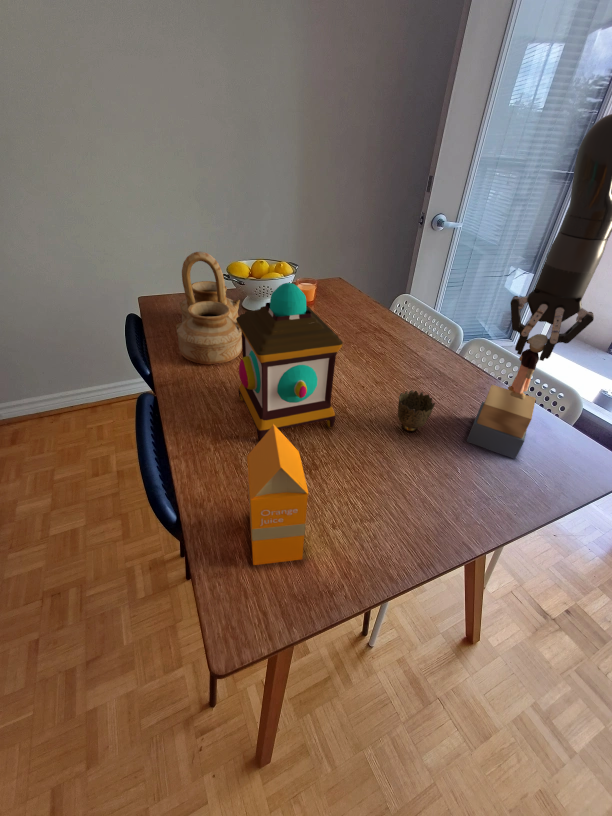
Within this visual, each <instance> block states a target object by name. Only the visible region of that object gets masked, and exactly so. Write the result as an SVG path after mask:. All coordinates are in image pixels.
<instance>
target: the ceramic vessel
mask: <svg viewBox="0 0 612 816" xmlns="http://www.w3.org/2000/svg"><path fill="white" fill-rule="evenodd" d="M198 262H203V263H205V264H207V265H208V266H209V267H210V269H211V270H212V273H213V275H214V279H215V281H211V280H202V281H201V280H200V281H195V282H193V283H192V279H191V271H192V267H193V266H194V265H195V264H196V263H198ZM181 267H182V268H181V280H182V286H183V291H184V295H185V299H183V300H182V301H180V302H179V307H180V312H181V322H180V323H179V322H178V323H177V324H176V325H175V328H176V335H177V339H178V340H177V341H178V350H179V353H180V354H181V355H182V356H183V358H185V359H186V360H189V361H190V362H193V363H196V364H200V365H201V364H203V365H216V364H222V363H227V362H231V361H232V360H234V359H236V358H237V357H238V356H239V355H240V354H241V353H242V332H241V329H240V328H239V326H238V324H237V321H236V318H237V317H239V308H240V303H241V300H240V299H239V298H238V299H236V300H233V299H231V298H229V297H227V290H228V286H227V285H226V283H225V278H224V273H223V270H222V268H221V265H220V264H219V262H218V261H217V260H216V258H215V257H214V256H213V255H211V254H210V253H208V252H205V251H195V252H192V253H191V254H189V255H188V256H187V257H186V258H185V260H184V261H183V263H182V266H181Z"/></svg>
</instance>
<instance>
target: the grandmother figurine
mask: <svg viewBox="0 0 612 816" xmlns="http://www.w3.org/2000/svg"><path fill="white" fill-rule="evenodd" d="M548 339H549V338H548V336H547V335H545V334H542V333H538V334H534V335H532V336H531V337H528V339H527V341H526V344H527V345H528V344H529V348H528V349H525V350H523V351H522V353H521V355H520V356H519V358H518V360H519V361H520V366H519V368H518V371H517V374H516V376H515V377H514V380H512V384H511V385H509V386H507V389H508V390H510V391H513V392H511V396H513V397H516V398H519V399H525V395H526V394H525V393H524V392H527V391H528V389H529V386H530V383H531V379H532V377H533V374H534V372H535V371H536V369H537V364H538V362H539V361H540V360H539V359H540V355H539V354H540V353H542V351H543V350H544V348H545V344H546V343H547V341H548Z"/></svg>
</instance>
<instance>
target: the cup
mask: <svg viewBox="0 0 612 816" xmlns="http://www.w3.org/2000/svg"><path fill="white" fill-rule="evenodd" d="M397 404H398V407H397V417H398V420H399V422H400V424H401V428H402V430H403V431H404V432H406V433H409V434H410V433H411V434H412V433H416V432H417V431H418V430H419V428H421V427H424V426H425V424H426V423H427V422H428V420H429V417H430V416H431V414H432V412H433V409H434V408H435V405H436V403H435V402H433V397H430V394H429V393H428V394H424V392H423V391H421V392H420V393H418V391H417V390H414V391H413V390H409V392H408V390H406V391H405V392H400V394H399V396H398V403H397Z"/></svg>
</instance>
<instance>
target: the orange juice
mask: <svg viewBox="0 0 612 816" xmlns="http://www.w3.org/2000/svg"><path fill="white" fill-rule="evenodd" d="M246 463H247V481H248V484H247V489H248V507H249V527H250V540H251V554H252V565H253V566H259V565H267V564H275V563H283V562H284V563H285V562H292V561H301V560H303V557H304V545H305V544H304V543H305V535H306V526H307V523H306V522H307V511H308V499H309V495H310V493H309V490H308V489H309V488H308V485H307V480H306V476H305V471H304V468H303V463H302V458H301V454H300V451H299V450H298V449H297V448H296V447H295V446H294V445H293V443H292V442H291V441H290V440H289V439H288V438H287V437H286V436H285V435H284V434H283V432H282V431H281V430H279V429H278V428H277V427H276V426H275V425H274V424H273V426H272V427H271V428H270V430H269V431H268V432H267V433H266V434H265V436H264V437H263V438H262V439H261V440H260V441H259V440H258V443H257V444H256V445H255V446H254V447H253V448H252V449H251V451H249V453H248V454H246Z"/></svg>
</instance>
